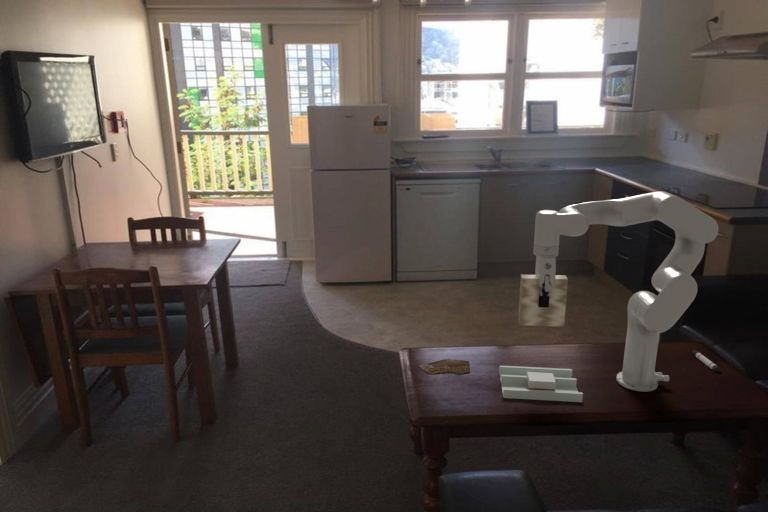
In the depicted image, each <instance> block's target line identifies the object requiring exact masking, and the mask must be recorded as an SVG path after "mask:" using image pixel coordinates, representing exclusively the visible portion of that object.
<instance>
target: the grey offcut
mask: <svg viewBox="0 0 768 512" xmlns="http://www.w3.org/2000/svg"><path fill="white" fill-rule="evenodd" d="M527 382H528V386H529V388H538V389H555V385H556V382H555V379H554V376H553V373H540V372H527Z"/></svg>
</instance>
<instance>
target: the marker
mask: <svg viewBox="0 0 768 512" xmlns="http://www.w3.org/2000/svg"><path fill="white" fill-rule="evenodd" d="M691 353H692V354H693V356H694V357H696V358H697V359H698V360H699V361H701V362H702V363H703V364H704V365H706V367H708V368H709V369H710V370H712V371H714V372H716V373H717V372H720V371H721V368H720V367H719V366H718V365H717V364H715V363H714V362H713V361H711V360H710V359H709V358H707V357H706V356H704V355H703V354H702V353H701V352H699V351H698V350H694V349H692V351H691Z"/></svg>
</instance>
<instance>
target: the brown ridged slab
mask: <svg viewBox="0 0 768 512" xmlns="http://www.w3.org/2000/svg"><path fill="white" fill-rule="evenodd" d="M426 365H429V366H430V365H432V366H433V367H434V368H429V367H428V366H426ZM419 367H420V368H421V369H422V370H425V371H426V372H427V373H426V372H425V371H424V372H425V373H426V374H429V373H430V374H429V375H431V374H432V375H436V374H447V373H452V374H453V373H454V374H458V375H459V374H467V373H471V370H470V369H471V367H470V361H469V360H462V359H451V358H448V359H441V360H437V361H433V362H429V363H426V364H420V365H418V368H419ZM420 368H419V369H420ZM421 369H420V370H421ZM422 370H421V371H422Z"/></svg>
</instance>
